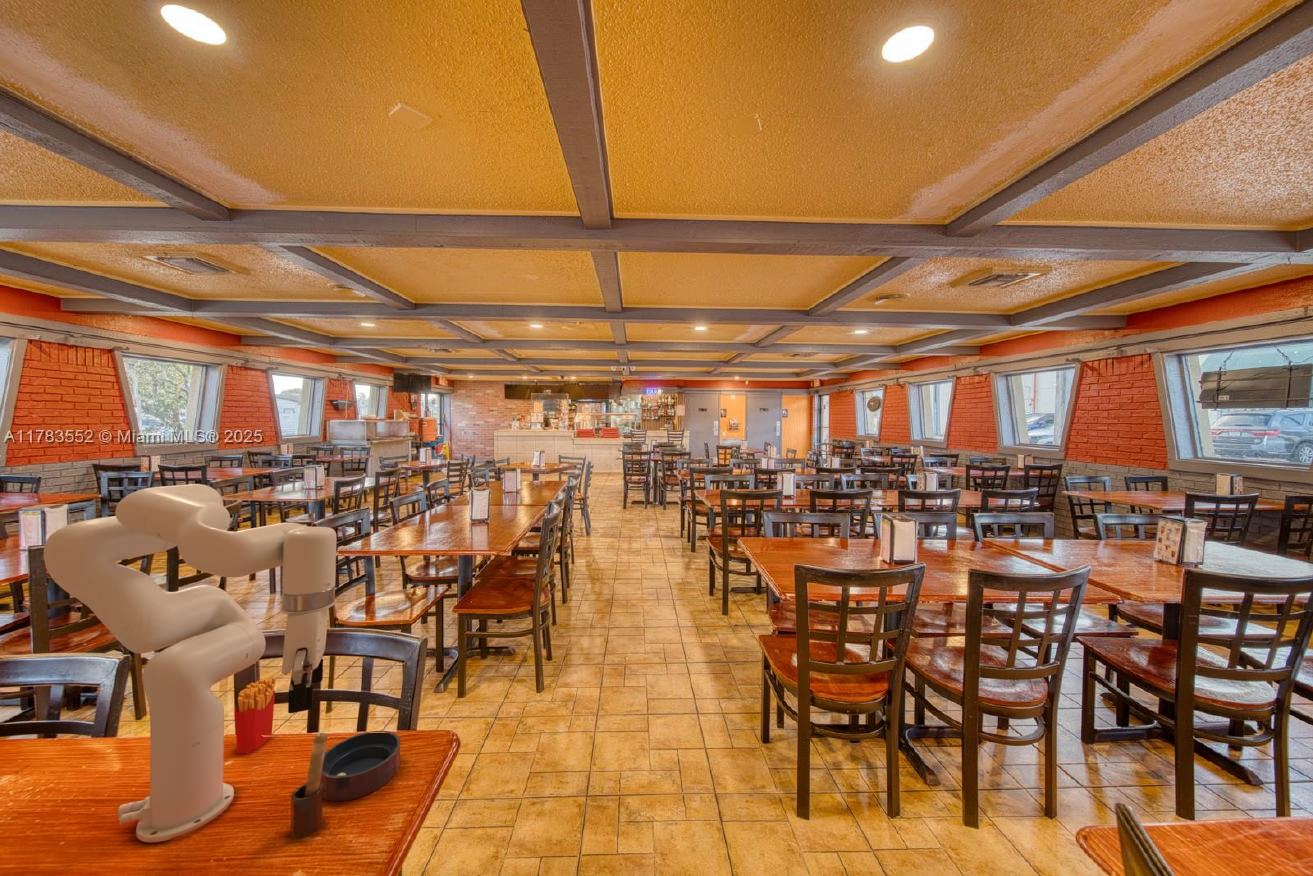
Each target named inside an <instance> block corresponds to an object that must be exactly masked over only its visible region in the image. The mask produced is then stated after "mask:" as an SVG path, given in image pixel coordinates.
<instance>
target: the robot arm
mask: <svg viewBox="0 0 1313 876" xmlns="http://www.w3.org/2000/svg"><path fill="white" fill-rule="evenodd" d="M114 512H115V515H113V516H105V517H98V518H91V519H87V520H82V521H77V522H74V523H70V524H68V525H65V526H63V527H61V528H59V529H57V530H55V531H54V532H53V533H52V534H51V535H50V536H49V537H48V538H47V539H46V542H45V543H44V547H43V561H44V566H45V568H46V571H47V572H48V575H49V576H50V577H51V579H52V580H53V581H54V583H55V584H56V585H58V586H59V588H61V589H62V590H64V591H65V592H67V594H69V595H70V596H72V597H73V598H75V599H77V600H78V601H80V602H81V603H82V604H84V605H85V606H86V607H88V608H89V609H90V610H91V612H92V613H93V614H94V615H95V616H96V618H97V619H98V620H99V621H100V622H101V623H102V624H103V625H104V626H105V627H106V629H107V630H108V631H109V632H110V633H111V634H112V635H113V637H115V638H116V640H117V641H118V642H119V643H120V644H121V645H122V646H123V647H124V648H125V649H126V650H128V651H130V652H131V653H133V654H148V653H152V652H155V651H158V650H161V649H162V650H161V651H159V652H158V653H156V654H155V655H154V656H153V657H151V658H150V660H149V661H147V663H146V664H145V666H144V668H143V671H142V677H141V679H142V685H143V690H144V693H145V696H146V697H145V698H146V700H147V704H148V712H149V739H150V740H149V741H150V748H149V751H150V752H149V753H150V756H149V757H150V758H149V759H150V760H149V761H150V763H149V796H146V797H145V798H144V799H142V800H138V801H132V802H128V803H123V804H120V806H119V807H118V808H117V811H116V812H117V813H116V818H117V819H119V825H123V824H127V823H131V822H134V821H137V820H138V823H137V825H136V827H135V836H136V838H137V839H138V840H139V841H141V842H143V843H161V842H166V841H171V840H172V839H173V838H177V837H180V836H182V835H185V834H188V833H190V832H192V831H195V830H197V829H199V828H200V827H202V826H204V825H206V824H208V823H209V822H211V821H212V820H214V819H216V817H218V816H219V815H221V814H222V813H223V812H224V811H225V810H226V809H227V808H228V807H229V806H230V805H231V804H232V802H233V800H234V797H235V789H234V787H233V786H232V785H231V784H228V783H225V782H224V765H225V764H224V763H225V762H224V759H225V757H224V755H225V708H224V704H223V702H222V700H221V698H219V697H218V696H216V695H215V694H214V693H213V692H212V689H211V688H212V686H214V685H216V684H217V683H220V682H221V681H223V680H224V679H227V678H229V677H231V676H234V675H235V674H237V673H239V672H242V671H243V670H245V669H248V668H249V667H251V666H252V665H254V664H255V663H257V662H258V661H259V660H260V659H261V658H262V656H263V655H264V653H265V650H266V645H267V644H266V643H267V641H266V638H265V635H264V632H263V630H262V629H261V628H260V626H259V625H258V624H257V623H256V621H255V620H254V619H253V618H252V617H251V616H250V615H249V613H247V612H246V611H245V610H244V609H243V607H241V606H240V605H239V603H237V601H236V600H235V599H234V598H233V597H232V596H231V595H230V594H229V593H228V592H227V591H225V590H224V589H222V588H220V587H218V586H215V585H210V584H209V585H207V584H205V585H204V584H203V585H195V586H192V587H188V588H184V589H181V590H177V591H167V590H165V589H163V588H162V587H161V586H160V585H159V584H158V583H157V582H156V580H155V579H154V578H153V577H151V576H150V575H148V574H147V573H145V572H143V571H141V570H138V569H137V568H133V567H130V566H128V565H127V566H126V565H123V564H120V563H118V562H117V561H124V560H129V559H133V558H137V557H138V558H139V557H144V556H148V555H153V554H158V553H162V552H166V551H169V550H171V549H174V548H175V547H177V550H178V553H179V555H180V557H181V558H182V560H183V561H184V563H186V564H187V566H188V567H190V568H192V569H194V570H197V571H200V572H203V573H207V574H210V575H212V576H217V577H222V578H241V577H245V576H249V575H254V574H256V573H260V572H263V571H267V570H270V569H275V568H278V567H282V581H281V582H282V585H281V613H282V614H284V615H287V617H286V620H285V621H286V623H285V629H284V636H283V637H284V639H283V651H282V666H281V674H282V675H284V676H287V675H288V674H290V680H289V689H288V704H287V713H288V714H295V713H301V712H306V711H310V710H312V709H313V707H314V706H313V705H314V704H313V703H314V684H317V683H321V682H322V681H323V679H324V658H323V656H324V653H325V650H326V644H327V634H328V633H327V631H328V609H330V608H331V607H333V606H334V605H335V604H336V572H337V571H336V570H337V539H338V538H337V533H336V530H335V529H333V528H332V527H330V526H329V527H328V526H308V525H304V524H302V523H297V522H281V523H280V522H279V523H275V524H269V525H263V526H259V527H253V528H246V529H242V530H238V531H229V528H230V525H231V515H230V512H229V510H228V509H227V508H226V507H225V506H224V500H223V498H222V495H221V494H220V493H219V492H218V491H217V489H215V488H213V487H211V486H209V485H206V484H200V483H190V484H179V485H166V486H154V487H147V488H142V489H138V490H136V491H133V492H131V493H129V494H128V495H125V496H124V497H123V498H121V500H120V501H119V502H118V504H117V505H116V508H115V511H114Z"/></svg>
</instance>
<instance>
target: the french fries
mask: <svg viewBox="0 0 1313 876" xmlns="http://www.w3.org/2000/svg"><path fill="white" fill-rule="evenodd" d="M276 680H277V679H276V678H274V677H272V678H269V677H266V678H265V679H261V678H260V679H259V680H258V681H255V682H253V681H252V682H250V683H249V684H247V685H246V686H245V687H246V688H244V689H243V690H240V692H237V693H238V694H237V695H238V697H237V704H238V705H237V707H235V709H234V712H233V713H234V726H235V739H236V752H237V754H239V755H241V754H249V753H252V752H254V751H257V750H258V749H259V748H260V747H262V746H263V745H264V744H266V743H267V742H268V741H269V740H271V739H272V737H263V736H261V735H273V725H274V709H275V698H276V690H275V686H276Z"/></svg>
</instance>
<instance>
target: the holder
mask: <svg viewBox="0 0 1313 876" xmlns="http://www.w3.org/2000/svg"><path fill="white" fill-rule="evenodd" d="M305 789H306V783H303V784H302V785H301V786H298V787H297V788H296V789H295V790H293V791H292V793H291V796H290V837H291V838H293V839H305V838H306V837H310V836H311V835H313V834H315V833H316V832H317V831H319V829H320V828H321V826H322V825H323V821H324V798H323V784H322V783H321V782H320V786H319V789H318V790H317V791H316V792H315V793H314V794H312V795H310V796H308V797H305V798H304V795H305Z"/></svg>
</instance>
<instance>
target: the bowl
mask: <svg viewBox="0 0 1313 876" xmlns="http://www.w3.org/2000/svg"><path fill="white" fill-rule="evenodd" d="M369 732H385V733H369ZM391 732H392V731H390V730H389V731H387V730H373V731H367V732H363V733H358V734H355V735H353V736H349V737H347V738H345V739H343V740H342V741H341V740H340V742H338V743H336V744H334V745H333V746H331V747H330V748H329V749H327V750H325V755H324V761H323V767H322V773H321V779H320V782H321V783H322V784H323V800H325V801H331V802H332V801H333V802H343V801H344V802H345V801H351V800H354V799H358V798H361V797H365V796H366V795H369V794H371V793H373V792H375V791H377V790H379V789H381V788H382V787H383V786H384V785H386V784H387V783H389V782H390V781H391V780H392V779H393V778H394V776H396V775H397V773H398V771H399V770H400V767H401V745H402V743H401V742H402V741H401V738H400V737H399V736H398V734H396V733H395V732H392V733H391ZM339 773H345V774H346V775H343V776H337V775H338V774H339Z"/></svg>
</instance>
